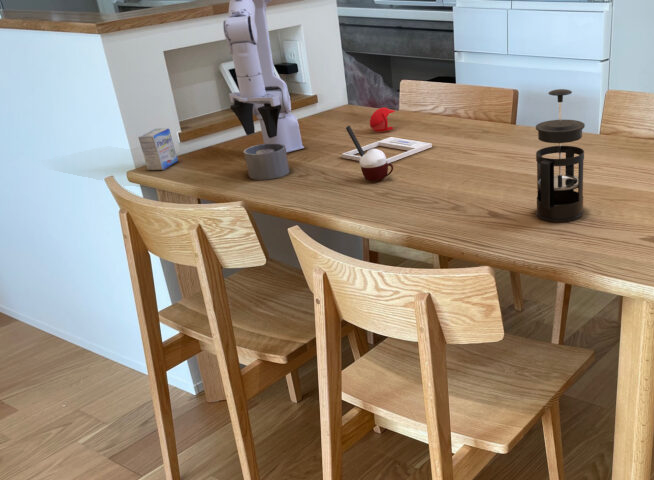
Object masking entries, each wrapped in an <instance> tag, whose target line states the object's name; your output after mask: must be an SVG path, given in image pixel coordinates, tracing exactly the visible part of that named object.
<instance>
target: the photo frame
mask: <svg viewBox="0 0 654 480" xmlns="http://www.w3.org/2000/svg"><path fill="white" fill-rule="evenodd" d="M379 146H380V147H385V148H391V149H398V150H402V151H404V152H402V153H399V154H396V155H394V156H390V157H388V158H386V160H387V164H392V163H393V162H396V161H398V160H401V159H404V158H406V157H409V156H411V155H414V154H418V153H420V152H423V151H425V150H427V149H431V148H432V146H433V144H432V143H431V142H425V141H419V140H412V139H406V138H400V137H395V136H390V137H386V138H384V139H381V140H378V141H375V142H372V143H369V144H367V145H363V146H361V148H362V150H363V151H364V152H365V151H368V150H371V149H375V148H377V147H379ZM356 154H359V152H358V150H357V148H355V149H352V150H349V151H346V152H343V153H341V158H343V159H346V160H347V159H348V160H353V161H358V162H359V161H360V158H361V156H360V155H356Z"/></svg>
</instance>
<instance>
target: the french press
mask: <svg viewBox="0 0 654 480" xmlns="http://www.w3.org/2000/svg"><path fill="white" fill-rule="evenodd" d="M572 93H573V91H572V90H570V89H565V88H559V89H553V90H550V91H549V92H548V95H549V96H556V97H557V103H558V113H559V114H558V119H551V120H545V121H542V122H540V123H537V124H536V125H535V130H536V131H537V136H538V137H537V138H538V141H540V142H543V143H547V144H558V145H551V146H547V147H542V148H540V149H538V150H537V151H536V152H535V159H536V160H535V161H536V171H537V172H536V179H537V180H536V184H537V186H536V187H537V188H536V189H537V192H536V193H537V195H536V211H535V216H536V218H538V220H541V221H544V222H550V223H565V222H567V223H569V222H573V221H577V220H579V219H581V218H583V216H584V215H585V210H584V161H585V150H584V149H583V148H581V147H578V146H574V145H562V144H567V143H573V142H576V141H579V140H581V139H582V138H583V130H584V128H585V126H586V124H585V122H582V121H580V120H575V119H562V103H563V101H564V96H568V95H572ZM552 154H558V158H549V157H544V156H545V155H552ZM562 154H565V158H562ZM575 155H576V156H575ZM577 164H578V176H576V175H575V165H577ZM555 167H558V174H555ZM562 167H565V174H562ZM576 189H577V191H575V190H576Z"/></svg>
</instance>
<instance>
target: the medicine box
mask: <svg viewBox="0 0 654 480" xmlns="http://www.w3.org/2000/svg"><path fill="white" fill-rule="evenodd" d="M137 138H138V141H139V144H140V149H141V152H142V154H143V158H144V162H145V165H146V168H147V171H164V170H166V169H168V168H169V167H171V166H172V165H174V164H176V163H178V162H179V160H178V159H179V158H178V155H177V152H176V148H175V145H174V140H173V137H172V134H171V130H170V128H166V127H165V128H162V127H161V128H154V129H152V130H150V131H148V132H146V133H144V134H141V135H139V136H138V137H137Z"/></svg>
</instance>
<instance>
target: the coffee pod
mask: <svg viewBox="0 0 654 480" xmlns="http://www.w3.org/2000/svg"><path fill="white" fill-rule="evenodd" d="M271 152H274V150H273V149H263V150H259V151H257V152H256V154H265V153H271Z"/></svg>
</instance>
